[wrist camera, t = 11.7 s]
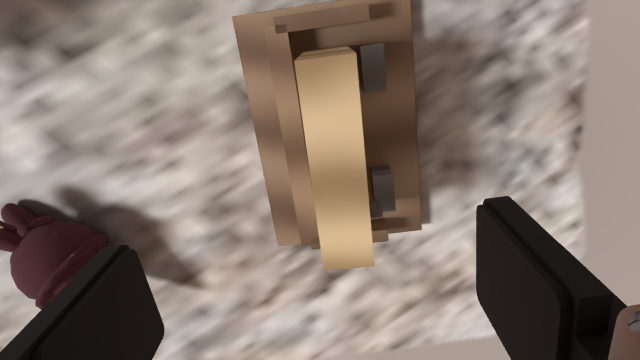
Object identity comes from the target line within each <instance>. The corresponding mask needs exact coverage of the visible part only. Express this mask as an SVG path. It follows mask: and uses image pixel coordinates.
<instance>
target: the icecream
mask: <svg viewBox="0 0 640 360" xmlns="http://www.w3.org/2000/svg"><path fill="white" fill-rule="evenodd" d="M1 215H2V219H3V220H4V221H5V222H2V221H0V250H4V251H9V252H12V255H11V258H10V264H11V275H12V277H13V279H14V282H15V284H16V286H17V288H18V289H19V290H21V291H22V292H23V293H24V294H25V295H26V296H27V297H28V298H31V299H36V303H35V305H36V307H39V308H40V309H41V310H42V309H43V308H44V307H45V306H46V305H47V304H48V303H49V302H50V301H51V300H52V299H53V298H54V297H55V296H56V295H57V294H58V293H59V292H60V291H61V290H62V289H63V288H64V287H65V286H66V285H67V284H68V283H69V282H70V280H71V279H72V278H73V277H74V276H75V275H76V274H77V273H78V272H79V271H80V270H81V269H82V268H83V267H84V266H85V265H86V264H87V263H88V262H89V261H90V260H91V259H92V258H93V257H94V256H95V255H96V254H97V253H98V252H99V251H100V250H101V249H102V248H104V246H105V245H106V244H107V242H108V236H107V235H106V232H105V233H101V234H97V233H96V231H95V230H93V229H91V228H89V227H87V226H86V225H85V224H84V223H83V222H69V221H56V219H55V218H54V217H51V216H48V215H47V216H43V217H39V218H37V217H36V216H35V215H34V214H33V213H32V212H30V211H29V210H27V209H25V208H24V207H22V206H20V205H17V204H13V203H9V204H6V205H5V206H4V207H3V208H2V210H1Z"/></svg>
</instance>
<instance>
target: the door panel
mask: <svg viewBox="0 0 640 360" xmlns="http://www.w3.org/2000/svg"><path fill="white" fill-rule="evenodd" d="M294 63H295V70H296V78H297V85H298V92H299V99H300V106H301V113H302V120H303V127H304V134H305V141H306V148H307V155H308V162H309V170H310V177H311V184H312V191H313V198H314V205H315V212H316V219H317V226H318V233H319V240H320V247H321V254H322V262H323V269H324V271H327V270H338V269H348V268H358V267H369V266H375V265H374V254H373V242H372V231H371V219H370V218H380V217H383V210H382V203H381V199H374V200H369V196H368V184H367V173H366V161H365V149H364V138H363V126H362V114H361V103H360V91H359V80H358V68H357V56H356V52H354V51H353V50H352V49H350V48H349V47H348V46H340V47H332V48H325V49H317V50H309V51H304V52H303V53H302V54H301V55H300V56H299V57H298V58H297V59H296V60H295V61H294Z"/></svg>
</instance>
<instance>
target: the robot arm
mask: <svg viewBox="0 0 640 360" xmlns="http://www.w3.org/2000/svg"><path fill="white" fill-rule="evenodd" d="M476 291H477V296H478V300H479V302H480V304H481V306H482V308H483V310H484V312H485V313H486V315H487V317H488V319H489V320H490V322H491V324H492V326H493V328H494V329H495V331H496V333H497V335H498V337H499V338H500V340H501V342H502V344H503V346H504V347H505V349H506V351H507V353H508V355H509V356H510V358H511V360H640V304H639V305H632V306H628V307H627V306H626V305H625V304H624V303H623V302H622V301H621V300H620V299H619V298H618V297H617V296H616V295H614V293H612V292H611V291H610V290H609V289H608V288H607V287H606V286H605V285H604V284H603V283H602V282H601V281H600V280H599V279H597V278H596V277H595V276H594V275H593V274H592V273H591V272H590V271H589V270H588V269H587V268H586V267H585V266H584V265H582V264H581V263H580V262H579V261H578V260H577V259H576V258H575V257H574V256H573V255H572V254H571V253H570V252H569V251H568V250H566V249H565V248H564V247H563V246H562V245H561V244H560V243H558V242H557V241H556V240H555V239H554V238H553V237H552V236H551V235H550V234H549V233H548V232H547V231H546V230H544V229H543V228H542V227H541V226H540V225H539V224H538V223H537V222H536V221H535V220H534V219H533V218H532V217H531V216H530V215H528V214H527V213H526V212H525V211H524V210H523V209H522V208H521V207H520V206H519V205H518V204H517V203H516V202H515V201H514V200H512V199H511V198H510V197H509V196H504V197H496V198H488V199H485V200H484V202H483V205H478V206H477V211H476ZM163 336H164V324H163V321H162V319H161V316H160V313H159V311H158V308H157V305H156V303H155V300H154V298H153V295H152V292H151V290H150V287H149V284H148V282H147V279H146V276H145V274H144V271H143V268H142V266H141V263H140V260H139V258H138V255H137V253H136V251H135V250H134V249H130V248H129V247H128V246H127V245H119V246H111V247H104V248H102V249H101V250H100V251H99V252H98V253H97V254H96V255H95V256H94V257H93V258H92V259H91V260H90V261H89V262H88V263H87V264H86V265H85V266H84V267H83V268H82V269H81V270H80V271H79V272H78V273H77V274H76V275H75V276H74V277H73V278H72V279H71V280H70V282H69V283H68V284H67V285H66V286H65V287H64V288H63V289H62V290H61V291H60V292H59V293H58V294H57V295H56V296H55V297H54V298H53V299H52V300H51V301H50V302H49V303H48V304H47V305H46V306H45V307H44V308H43V309H42V310H41V311H40V312H39V313H38V314H37V315H36V316H35V317H34V318H33V319H32V320H31V321H30V322H29V323H28V324H27V325H26V326H25V327H24V328H23V329H22V331H21V332H20V333H19V334H18V335H17V336H16V337H15V338H14V339H13V340H12V341H11V342H10V343H9V344H8V345H7V346H6V347H5V348H4V349H3V350H2V351H1V352H0V360H152V359H153V357H154V355H155V353H156V351H157V349H158V347H159V345H160V343H161V341H162V339H163Z"/></svg>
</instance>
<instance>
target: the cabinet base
mask: <svg viewBox="0 0 640 360" xmlns="http://www.w3.org/2000/svg"><path fill="white" fill-rule="evenodd" d="M232 18H233V23H234V28H235V33H236V38H237V43H238V48H239V53H240V58H241V63H242V68H243V73H244V78H245V83H246V88H247V93H248V98H249V103H250V108H251V113H252V118H253V123H254V128H255V133H256V138H257V143H258V148H259V153H260V158H261V163H262V168H263V173H264V178H265V183H266V188H267V193H268V198H269V203H270V208H271V213H272V218H273V223H274V228H275V233H276V238H277V243H278V246H284V245H293V244H301V245H307V244H311V247H312V250H313V249H321V247H320V240H319V233H318V226H317V219H316V212H315V205H314V198H313V191H312V184H311V177H310V170H309V162H308V155H307V148H306V141H305V134H304V127H303V120H302V113H301V106H300V99H299V92H298V85H297V78H296V70H295V63H294V61H295V60H296V59H297V58H298V57H299V56H300V55H301V54H302V53H303V52H304V51H309V50H317V49H325V48H332V47H340V46H348V47H349V48H350V49H352V50H353V51H354V52H356V56H357V68H358V80H359V91H360V103H361V114H362V126H363V138H364V149H365V161H366V173H367V184H368V196H369V200H374V199H381V203H382V210H383V217H380V218H370V219H371V231H372V242H373V243H375V242H384V241H388V234H390V233H399V232H408V231H416V230H422V226H421V206H420V185H419V165H418V145H417V124H416V104H415V84H414V64H413V43H412V23H411V3H410V0H339V1H332V2H326V3H319V4H313V5H306V6H299V7H293V8H286V9H279V10H273V11H266V12H260V13H253V14H246V15H240V16H233V17H232Z"/></svg>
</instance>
